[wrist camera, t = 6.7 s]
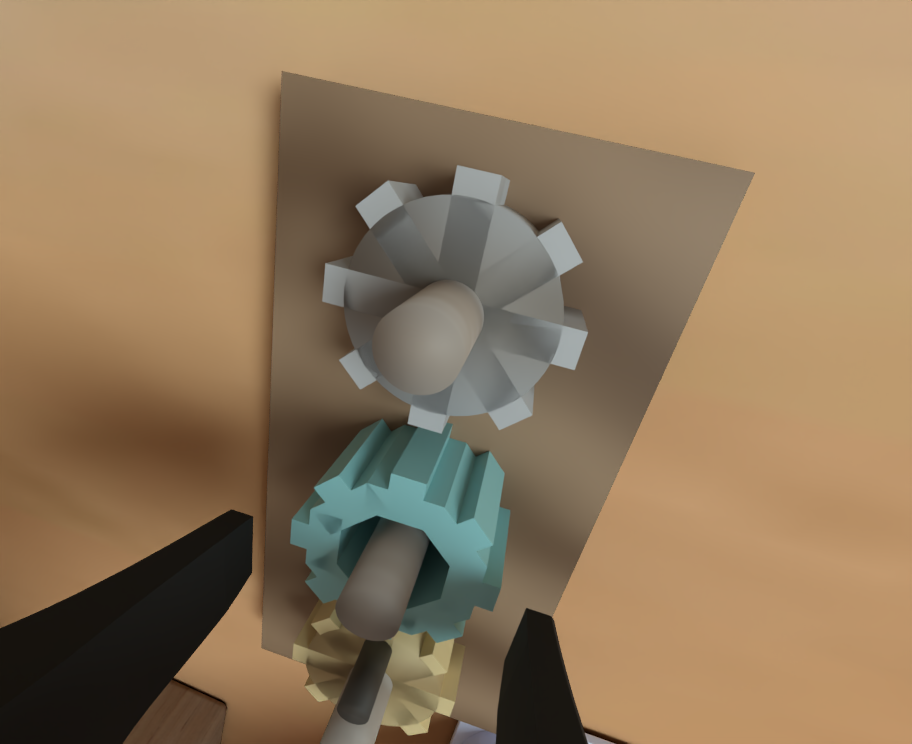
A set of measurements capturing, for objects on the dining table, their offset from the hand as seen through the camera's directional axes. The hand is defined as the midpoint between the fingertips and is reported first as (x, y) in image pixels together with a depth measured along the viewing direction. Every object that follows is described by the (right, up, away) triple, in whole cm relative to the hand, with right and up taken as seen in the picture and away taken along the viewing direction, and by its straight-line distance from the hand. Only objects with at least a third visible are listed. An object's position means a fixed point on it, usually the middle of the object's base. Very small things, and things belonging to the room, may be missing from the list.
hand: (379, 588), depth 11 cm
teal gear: (+1, +1, +3) cm, 4 cm away
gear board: (+1, +2, +5) cm, 5 cm away
